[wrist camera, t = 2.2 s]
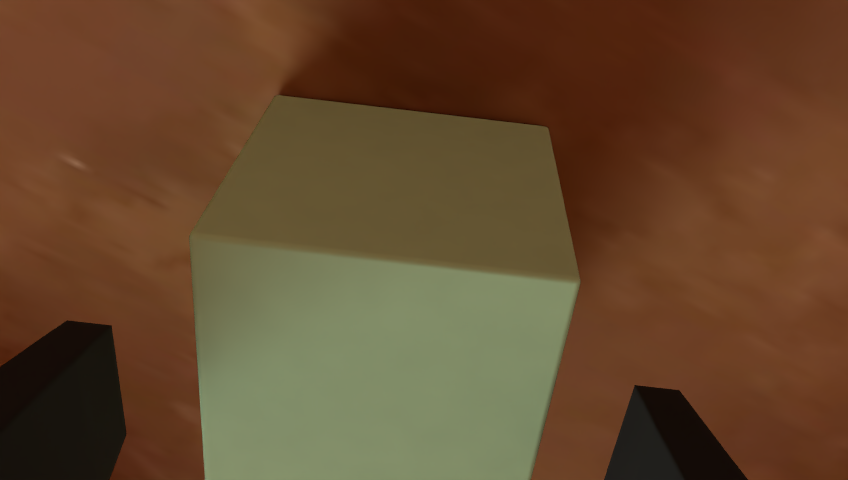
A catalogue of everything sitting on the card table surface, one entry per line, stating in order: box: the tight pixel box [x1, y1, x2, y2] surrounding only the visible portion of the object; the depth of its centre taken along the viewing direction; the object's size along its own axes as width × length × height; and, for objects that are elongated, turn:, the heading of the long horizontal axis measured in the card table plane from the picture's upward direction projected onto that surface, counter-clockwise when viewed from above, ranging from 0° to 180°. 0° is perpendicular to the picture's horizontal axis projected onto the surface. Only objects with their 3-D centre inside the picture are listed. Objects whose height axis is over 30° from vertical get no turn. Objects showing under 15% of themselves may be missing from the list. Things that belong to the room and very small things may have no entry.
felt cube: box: [189, 95, 581, 480], centre depth 13 cm, size 5×5×5 cm
